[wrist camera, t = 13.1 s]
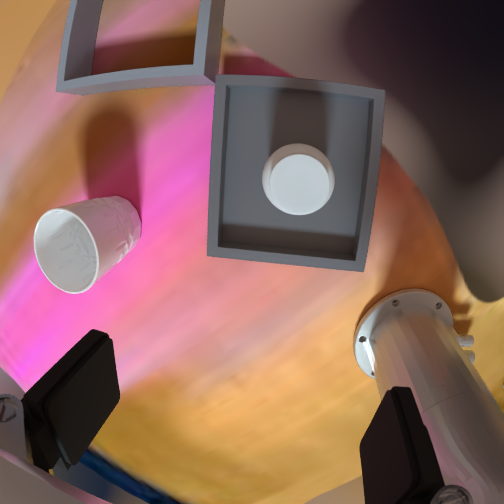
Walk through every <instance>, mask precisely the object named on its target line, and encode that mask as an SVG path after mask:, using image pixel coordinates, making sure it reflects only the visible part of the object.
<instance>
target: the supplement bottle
mask: <svg viewBox="0 0 504 504" xmlns="http://www.w3.org/2000/svg"><path fill="white" fill-rule="evenodd" d="M262 184H263V188H264V192H265V194H266V196H267V198H268V199H269V200H270V202H271V203H272V204H273V205H274V206H275V207H277V208H278V209H280V210H281V211H283V212H285V213H288V214H292V215H306V214H310V213H313V212H315V211H317V210H319V209H320V208H321V207H323V206H324V205H325V204H326V202H327V201H328V200H329V198H330V197H331V194H332V192H333V189H334V184H335V176H334V171H333V168H332V165H331V163H330V161H329V160H328V158H327V157H326V156H325V155H324V154H323V153H322V152H321V151H319V150H318V149H316V148H315V147H312V146H310V145H306V144H300V143H295V144H289V145H286V146H283V147H281V148H279V149H278V150H276V151H275V152H274V153H273V154H272V155H271V156H270V157H269V158H268V160H267V162H266V164H265V166H264V169H263V173H262Z"/></svg>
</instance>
